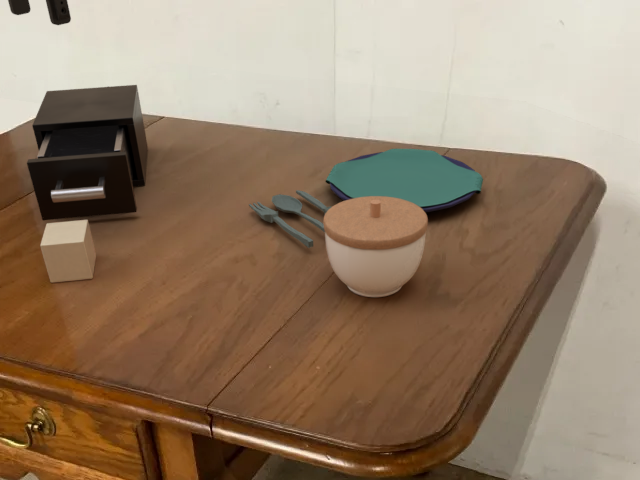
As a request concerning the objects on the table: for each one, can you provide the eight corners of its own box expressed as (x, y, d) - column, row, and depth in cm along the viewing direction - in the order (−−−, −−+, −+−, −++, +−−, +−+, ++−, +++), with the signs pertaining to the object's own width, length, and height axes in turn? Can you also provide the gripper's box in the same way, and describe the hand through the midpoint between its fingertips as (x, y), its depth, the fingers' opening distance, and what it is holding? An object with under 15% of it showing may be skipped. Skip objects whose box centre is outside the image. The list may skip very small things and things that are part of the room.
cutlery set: (510, 199, 100) (512, 182, 99) (312, 262, 88) (312, 244, 86) (417, 153, 113) (418, 138, 112) (235, 202, 101) (233, 185, 100)
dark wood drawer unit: (145, 185, 106) (132, 117, 100) (50, 193, 105) (31, 125, 99) (147, 147, 118) (136, 84, 112) (62, 154, 116) (46, 90, 111)
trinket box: (441, 274, 85) (447, 193, 79) (393, 319, 78) (395, 234, 72) (358, 251, 90) (358, 173, 84) (306, 291, 83) (302, 209, 77)
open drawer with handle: (135, 228, 94) (123, 169, 89) (37, 237, 92) (20, 177, 88) (140, 171, 108) (130, 118, 103) (55, 178, 107) (41, 124, 102)
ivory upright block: (50, 283, 86) (39, 245, 83) (56, 259, 90) (46, 223, 87) (92, 278, 86) (83, 241, 83) (96, 255, 90) (87, 219, 88)
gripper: (-68, -152, 81) (-20, 17, 91) (2, -150, 73) (46, 34, 83) (-3, -157, 85) (36, 5, 95) (70, -155, 78) (104, 20, 88)
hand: (41, 18), depth 89 cm, fingers open, 8 cm apart
